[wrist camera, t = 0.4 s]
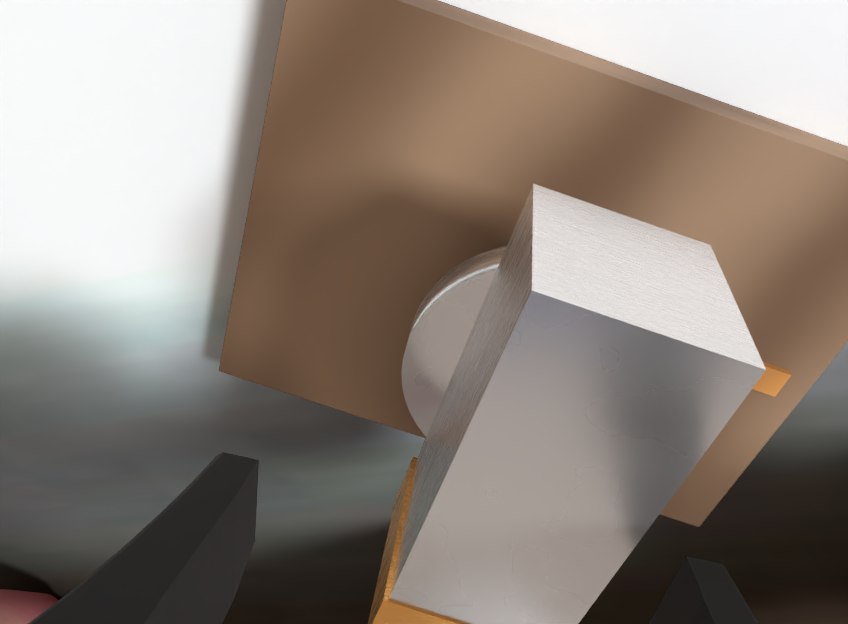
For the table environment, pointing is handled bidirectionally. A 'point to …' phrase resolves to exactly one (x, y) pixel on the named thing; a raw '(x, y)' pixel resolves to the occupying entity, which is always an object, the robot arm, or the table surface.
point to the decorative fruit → (23, 605)
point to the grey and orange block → (556, 413)
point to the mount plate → (511, 203)
